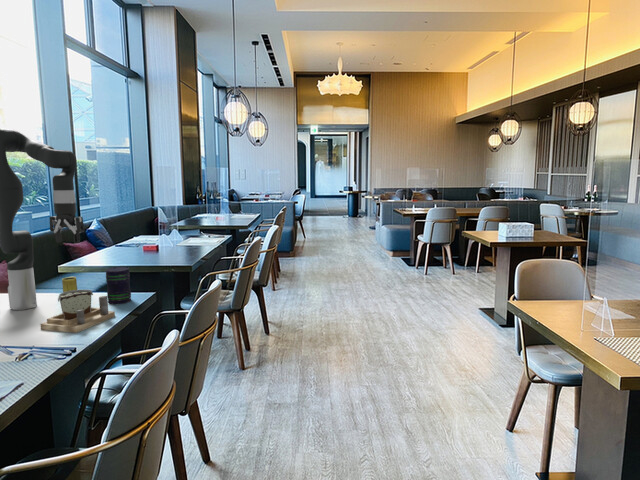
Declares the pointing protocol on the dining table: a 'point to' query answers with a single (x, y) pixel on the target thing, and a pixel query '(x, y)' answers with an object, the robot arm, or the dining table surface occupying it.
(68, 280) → the vase
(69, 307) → the half lattice cake
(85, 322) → the carrier board
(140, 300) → the dining table surface
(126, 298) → the storage jar
